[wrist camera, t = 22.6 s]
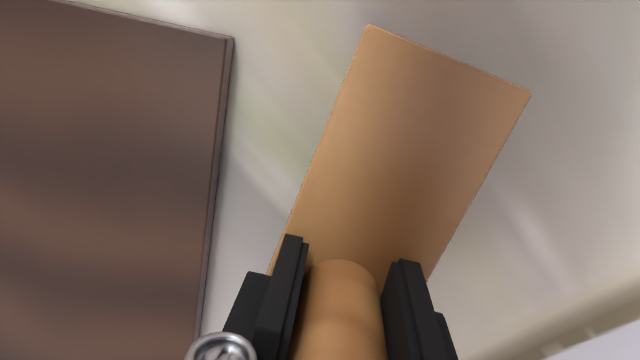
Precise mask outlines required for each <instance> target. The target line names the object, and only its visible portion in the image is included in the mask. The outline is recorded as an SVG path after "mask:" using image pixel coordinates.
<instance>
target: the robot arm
mask: <svg viewBox="0 0 640 360" xmlns="http://www.w3.org/2000/svg"><path fill="white" fill-rule="evenodd" d="M308 249H309V243H305V242H303V237H300V236H296V235H291V234H286V233H285V236H284V239H283V242H282V245H281V248H280V251H279V254H278V257H277V260H276V263H275V266H274V269H273V273H272V276H269V275H264V274H260V273H255V272H251V271H249V272H248V273H247V275H246V277H245V279H244V282H243V284H242V286H241V288H240V291H239V293H238V295H237V298H236V300H235V302H234V305H233V307H232V309H231V312H230V314H229V316H228V319H227V321H226V323H225V325H224V328H223V330H222V332H215V333H210V334H207V335H205V336H202V337H200V338H199V339H198V340H196V341H195V342H194V343H193V344H192V345H191V347H190V348H189V350H188V352H187V354H186V356H185V358H184V360H286V357H287V353H288V348H289V344H290V339H291V334H292V330H293V325H294V320H295V315H296V310H297V305H298V299H299V294H300V289H301V284H302V279H303V274H304V269H305V264H306V259H307V254H308ZM380 301H381V309H382V316H383V324H384V332H385V339H386V347H387V355H388V360H458V357H457V354H456V351H455V348H454V345H453V342H452V339H451V336H450V333H449V330H448V327H447V323H446V320H445V318H444V316H443V314H441V313H439V312H435V311H434V308H433V305H432V301H431V298H430V294H429V291H428V288H427V284H426V281H425V278H424V274H423V271H422V268H421V264H420V263H419V262H415V261H410V260H406V259H399V261H398V263H397V262H392V263H391V266H390V269H389V272H388V275H387V278H386V282H385V285H384V288H383V291H382V294H381V298H380Z"/></svg>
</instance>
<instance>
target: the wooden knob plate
mask: <svg viewBox="0 0 640 360" xmlns="http://www.w3.org/2000/svg"><path fill="white" fill-rule="evenodd" d="M531 94H532V93H531V92H530V91H529V90H526V89H524V88H522V87H519V86H517V85H515V84H512V83H510V82H507V81H505V80H503V79H500V78H498V77H496V76H493V75H491V74H488V73H486V72H484V71H481V70H479V69H477V68H474V67H472V66H469V65H467V64H465V63H462V62H460V61H458V60H455V59H453V58H450V57H448V56H446V55H443V54H441V53H439V52H436V51H434V50H431V49H429V48H427V47H424V46H422V45H420V44H417V43H415V42H412V41H410V40H408V39H405V38H403V37H401V36H398V35H396V34H393V33H391V32H389V31H386V30H384V29H382V28H379V27H377V26H374V25H372V24H368V25H367V26H366V27H365V29H364V31H363V34H362V36H361V38H360V41H359V43H358V46H357V48H356V51H355V53H354V56H353V58H352V61H351V63H350V66H349V68H348V71H347V73H346V76H345V78H344V81H343V83H342V86H341V88H340V91H339V93H338V96H337V98H336V101H335V103H334V106H333V108H332V111H331V113H330V116H329V118H328V121H327V123H326V126H325V128H324V131H323V133H322V136H321V138H320V141H319V143H318V146H317V148H316V151H315V153H314V156H313V158H312V161H311V163H310V166H309V168H308V171H307V173H306V176H305V178H304V180H303V183H302V185H301V188H300V190H299V193H298V195H297V198H296V200H295V203H294V205H293V208H292V210H291V213H290V215H289V218H288V220H287V223H286V225H285V228H284V230H283V233H282V235H281V238H280V240H279V243H278V245H277V248H276V250H275V253H274V255H273V258H272V260H271V263H270V265H269V268H268V270H267V273H266V275H269V276H272V273H273V269H274V266H275V263H276V260H277V257H278V254H279V251H280V248H281V245H282V242H283V239H284V236H285V233H286V234H291V235H296V236H300V237H303V242H305V243H309V249H308V254H307V259H306V264H305V269H304V274H303V279H302V284H301V289H300V294H299V299H298V305H297V310H296V315H295V320H294V325H293V330H292V334H291V339H290V344H289V348H288V353H287V357H286V360H388V355H387V347H386V339H385V332H384V324H383V316H382V309H381V301H380V298H381V294H382V291H383V288H384V285H385V282H386V278H387V275H388V272H389V269H390V266H391V263H392V262H397V263H398V261H399V259H406V260H410V261H415V262H419V263H420V264H421V268H422V271H423V274H424V278H425V281H426V282H427V280H428V278H429V277H430V275H431V273H432V271H433V269H434V268H435V266H436V264H437V262H438V261H439V259H440V257H441V255H442V253H443V252H444V250H445V248H446V246H447V244H448V243H449V241H450V239H451V237H452V236H453V234H454V232H455V230H456V228H457V227H458V225H459V223H460V221H461V220H462V218H463V216H464V214H465V212H466V211H467V209H468V207H469V205H470V204H471V202H472V200H473V198H474V196H475V195H476V193H477V191H478V189H479V187H480V186H481V184H482V182H483V180H484V179H485V177H486V175H487V173H488V171H489V170H490V168H491V166H492V164H493V163H494V161H495V159H496V157H497V155H498V154H499V152H500V150H501V148H502V147H503V145H504V143H505V141H506V139H507V138H508V136H509V134H510V132H511V130H512V129H513V127H514V125H515V123H516V122H517V120H518V118H519V116H520V114H521V113H522V111H523V109H524V107H525V106H526V104H527V102H528V100H529V98H530V97H531Z"/></svg>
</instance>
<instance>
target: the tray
mask: <svg viewBox="0 0 640 360" xmlns="http://www.w3.org/2000/svg"><path fill="white" fill-rule="evenodd" d="M233 43H234V38H233V37H231V36H226V35H222V34H217V33H213V32H208V31H203V30H199V29H194V28H190V27H185V26H181V25H176V24H172V23H167V22H162V21H158V20H153V19H149V18H144V17H140V16H135V15H130V14H126V13H121V12H117V11H112V10H108V9H103V8H98V7H94V6H89V5H85V4H80V3H76V2H71V1H66V0H0V360H184V358H185V356H186V354H187V352H188V350H189V348H190V347H191V345H192V344H193V343H194V342H195V341H196V340H198V339H199V334H200V325H201V317H202V308H203V300H204V291H205V283H206V274H207V266H208V257H209V249H210V240H211V231H212V223H213V214H214V206H215V197H216V189H217V180H218V172H219V163H220V155H221V146H222V137H223V129H224V120H225V112H226V103H227V95H228V86H229V78H230V69H231V60H232V52H233Z"/></svg>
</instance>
